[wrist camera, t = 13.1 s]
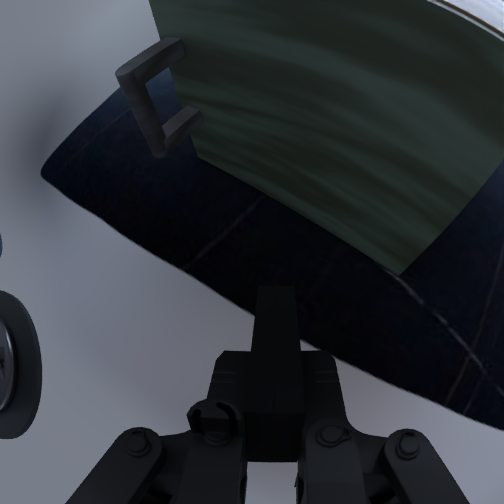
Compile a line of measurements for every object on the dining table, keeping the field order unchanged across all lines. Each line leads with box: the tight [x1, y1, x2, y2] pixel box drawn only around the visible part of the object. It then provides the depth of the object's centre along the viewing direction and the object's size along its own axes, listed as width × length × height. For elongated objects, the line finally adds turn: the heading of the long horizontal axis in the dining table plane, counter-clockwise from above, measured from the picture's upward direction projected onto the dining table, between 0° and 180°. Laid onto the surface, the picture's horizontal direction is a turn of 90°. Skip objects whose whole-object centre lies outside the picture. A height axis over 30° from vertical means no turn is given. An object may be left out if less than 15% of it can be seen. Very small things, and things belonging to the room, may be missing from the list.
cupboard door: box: [115, 0, 504, 276], centre depth 20 cm, size 7×26×24 cm, turn 53°
